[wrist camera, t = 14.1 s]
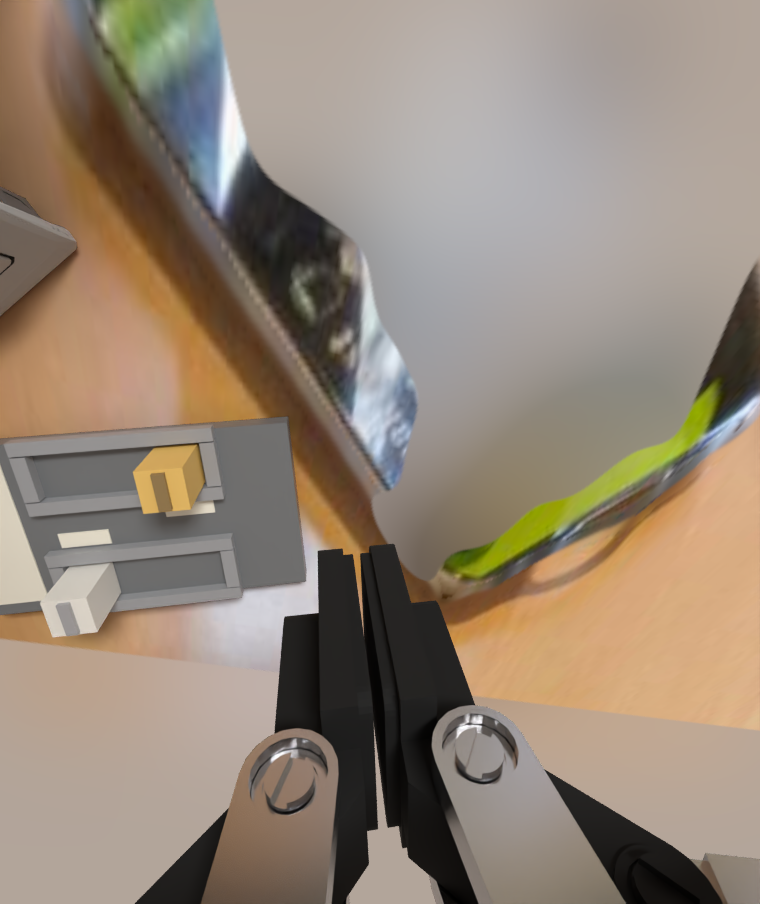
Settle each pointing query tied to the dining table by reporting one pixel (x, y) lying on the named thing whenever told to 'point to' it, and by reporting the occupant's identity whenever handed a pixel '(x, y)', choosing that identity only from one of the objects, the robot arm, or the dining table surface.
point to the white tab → (81, 599)
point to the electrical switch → (27, 248)
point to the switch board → (150, 515)
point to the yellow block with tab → (170, 478)
